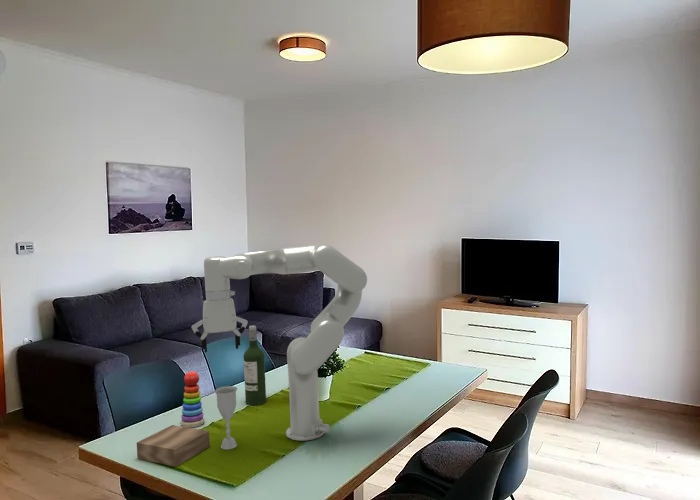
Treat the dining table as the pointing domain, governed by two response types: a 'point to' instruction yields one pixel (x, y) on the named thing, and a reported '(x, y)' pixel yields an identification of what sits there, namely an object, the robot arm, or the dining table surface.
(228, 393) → the chalice
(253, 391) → the wine bottle
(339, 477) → the dining table surface
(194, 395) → the stacking toy
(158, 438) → the plinth
